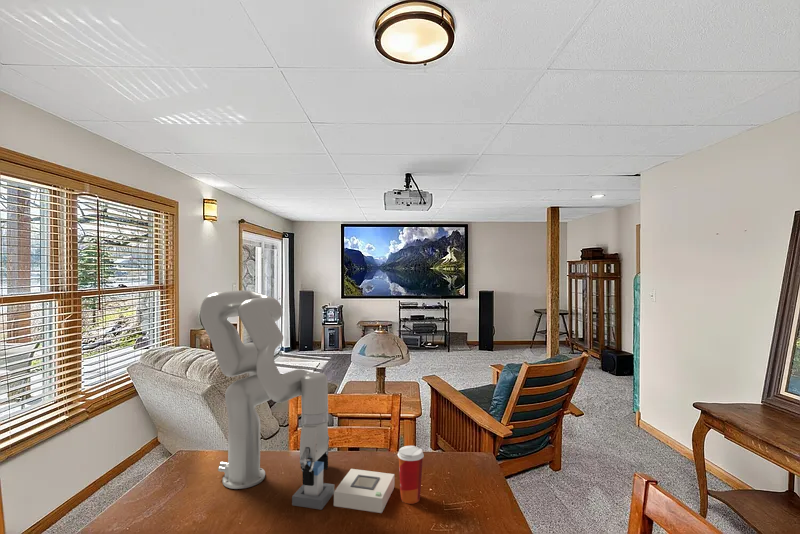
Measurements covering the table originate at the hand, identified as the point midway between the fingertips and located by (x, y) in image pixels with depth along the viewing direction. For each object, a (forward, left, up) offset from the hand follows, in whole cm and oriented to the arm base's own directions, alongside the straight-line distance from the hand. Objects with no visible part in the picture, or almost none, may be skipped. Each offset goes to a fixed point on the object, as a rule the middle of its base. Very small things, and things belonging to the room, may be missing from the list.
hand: (315, 476), depth 122 cm
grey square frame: (-1, 0, -7) cm, 7 cm away
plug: (-1, 0, -7) cm, 7 cm away
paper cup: (+26, +7, -7) cm, 28 cm away
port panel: (+13, +5, -7) cm, 16 cm away
